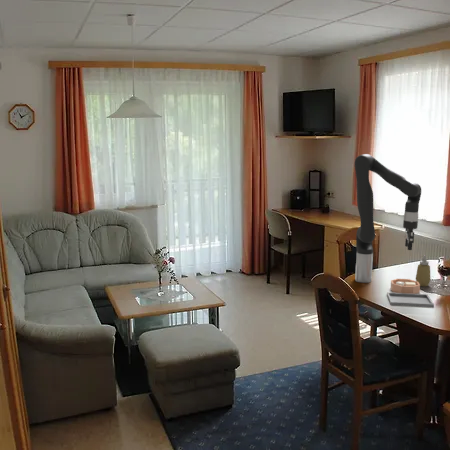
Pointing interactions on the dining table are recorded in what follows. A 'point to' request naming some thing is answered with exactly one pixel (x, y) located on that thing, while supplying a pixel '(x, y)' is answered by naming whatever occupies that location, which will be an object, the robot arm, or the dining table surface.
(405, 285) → the sandy stone
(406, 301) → the parts tray
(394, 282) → the bowl
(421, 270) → the squeeze bottle
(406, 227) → the robot arm
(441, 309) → the dining table surface
